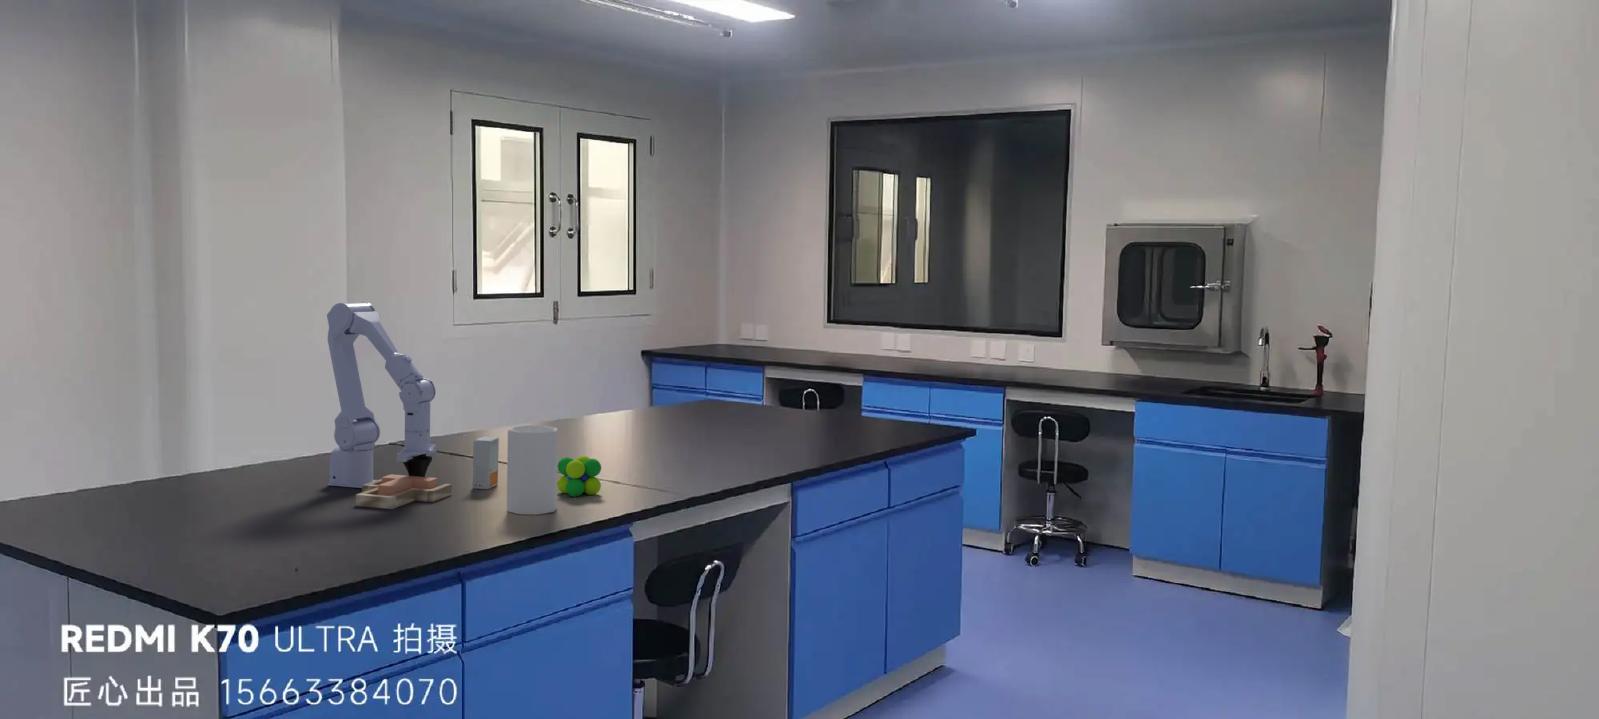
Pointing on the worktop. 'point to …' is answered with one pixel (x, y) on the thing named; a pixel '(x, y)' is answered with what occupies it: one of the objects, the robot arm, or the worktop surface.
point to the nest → (399, 495)
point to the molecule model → (579, 476)
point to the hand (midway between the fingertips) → (417, 487)
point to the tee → (404, 484)
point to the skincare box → (485, 462)
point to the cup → (532, 469)
